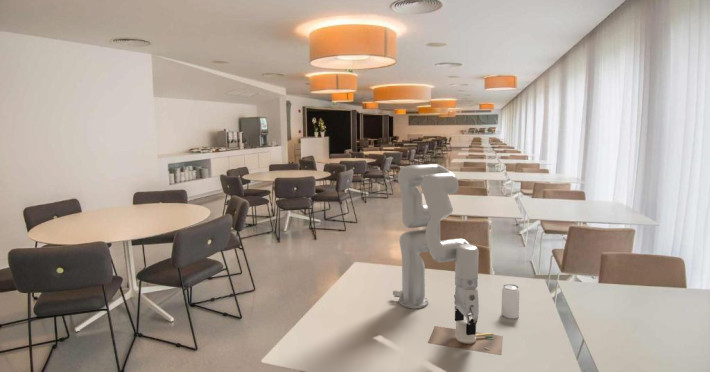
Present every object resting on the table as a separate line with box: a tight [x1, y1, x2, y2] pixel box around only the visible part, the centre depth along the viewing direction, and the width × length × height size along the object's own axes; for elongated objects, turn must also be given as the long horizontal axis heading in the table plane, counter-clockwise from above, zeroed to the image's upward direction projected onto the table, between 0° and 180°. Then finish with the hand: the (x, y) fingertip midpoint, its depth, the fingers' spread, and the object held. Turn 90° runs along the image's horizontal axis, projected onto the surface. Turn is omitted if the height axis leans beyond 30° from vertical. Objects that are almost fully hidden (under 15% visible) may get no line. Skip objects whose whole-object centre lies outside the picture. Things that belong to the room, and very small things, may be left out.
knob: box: [455, 319, 494, 344], centre depth 147 cm, size 14×7×6 cm, turn 99°
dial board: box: [427, 325, 504, 356], centre depth 147 cm, size 24×13×2 cm, turn 69°
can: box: [501, 283, 520, 320], centre depth 167 cm, size 6×6×12 cm
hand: (464, 327), depth 147 cm, fingers open, 9 cm apart
